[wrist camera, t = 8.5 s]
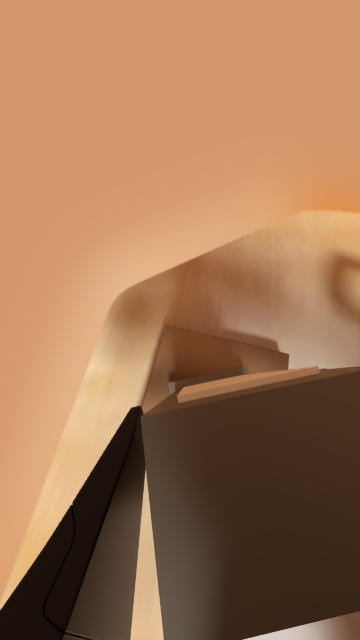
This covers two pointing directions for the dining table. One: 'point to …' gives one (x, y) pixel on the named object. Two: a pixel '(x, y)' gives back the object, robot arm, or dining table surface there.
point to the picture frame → (255, 500)
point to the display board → (203, 360)
